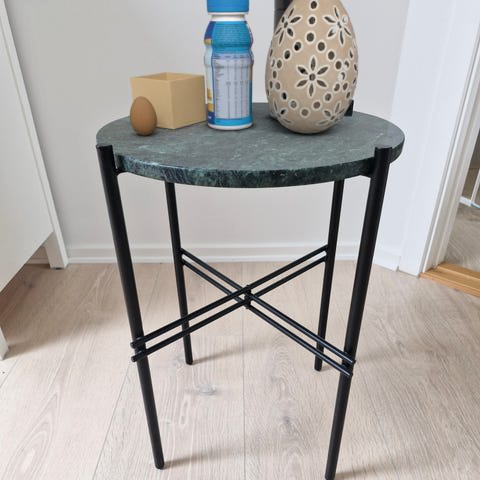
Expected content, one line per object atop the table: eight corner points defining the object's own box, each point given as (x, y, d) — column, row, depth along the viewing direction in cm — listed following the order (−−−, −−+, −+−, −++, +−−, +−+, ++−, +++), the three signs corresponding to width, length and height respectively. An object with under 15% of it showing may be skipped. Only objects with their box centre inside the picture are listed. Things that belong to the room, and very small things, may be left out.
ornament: (311, 120, 85) (322, -11, 74) (368, 135, 75) (391, -14, 63) (247, 130, 79) (247, -12, 67) (300, 148, 68) (311, -16, 57)
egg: (131, 139, 74) (125, 99, 71) (133, 132, 78) (127, 94, 74) (158, 138, 74) (154, 98, 71) (159, 132, 78) (155, 93, 75)
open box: (170, 114, 90) (166, 71, 86) (206, 120, 86) (204, 75, 81) (135, 123, 84) (130, 77, 80) (173, 129, 80) (169, 81, 75)
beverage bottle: (230, 133, 77) (228, -13, 65) (197, 126, 81) (189, -11, 70) (262, 125, 82) (265, -12, 70) (229, 119, 86) (227, -10, 75)
